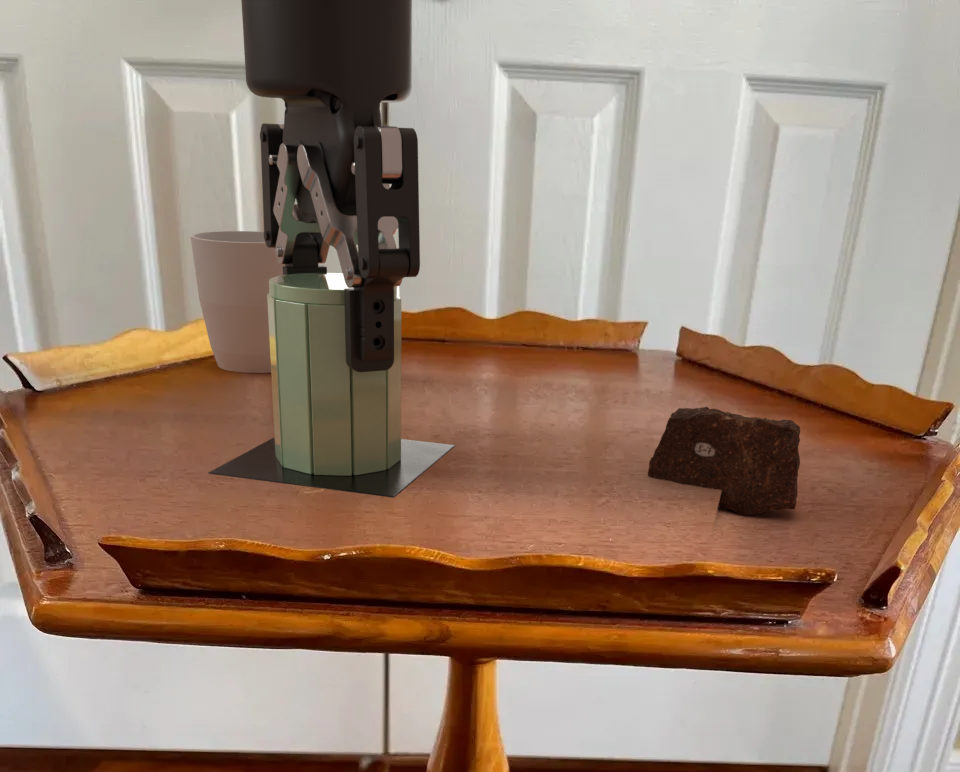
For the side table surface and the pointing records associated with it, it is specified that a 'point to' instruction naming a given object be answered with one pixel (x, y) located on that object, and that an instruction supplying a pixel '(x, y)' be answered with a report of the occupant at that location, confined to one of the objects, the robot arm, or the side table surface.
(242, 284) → the cup
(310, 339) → the tumbler
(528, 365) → the side table surface
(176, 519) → the side table surface
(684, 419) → the stone
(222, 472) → the holder
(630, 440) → the side table surface
